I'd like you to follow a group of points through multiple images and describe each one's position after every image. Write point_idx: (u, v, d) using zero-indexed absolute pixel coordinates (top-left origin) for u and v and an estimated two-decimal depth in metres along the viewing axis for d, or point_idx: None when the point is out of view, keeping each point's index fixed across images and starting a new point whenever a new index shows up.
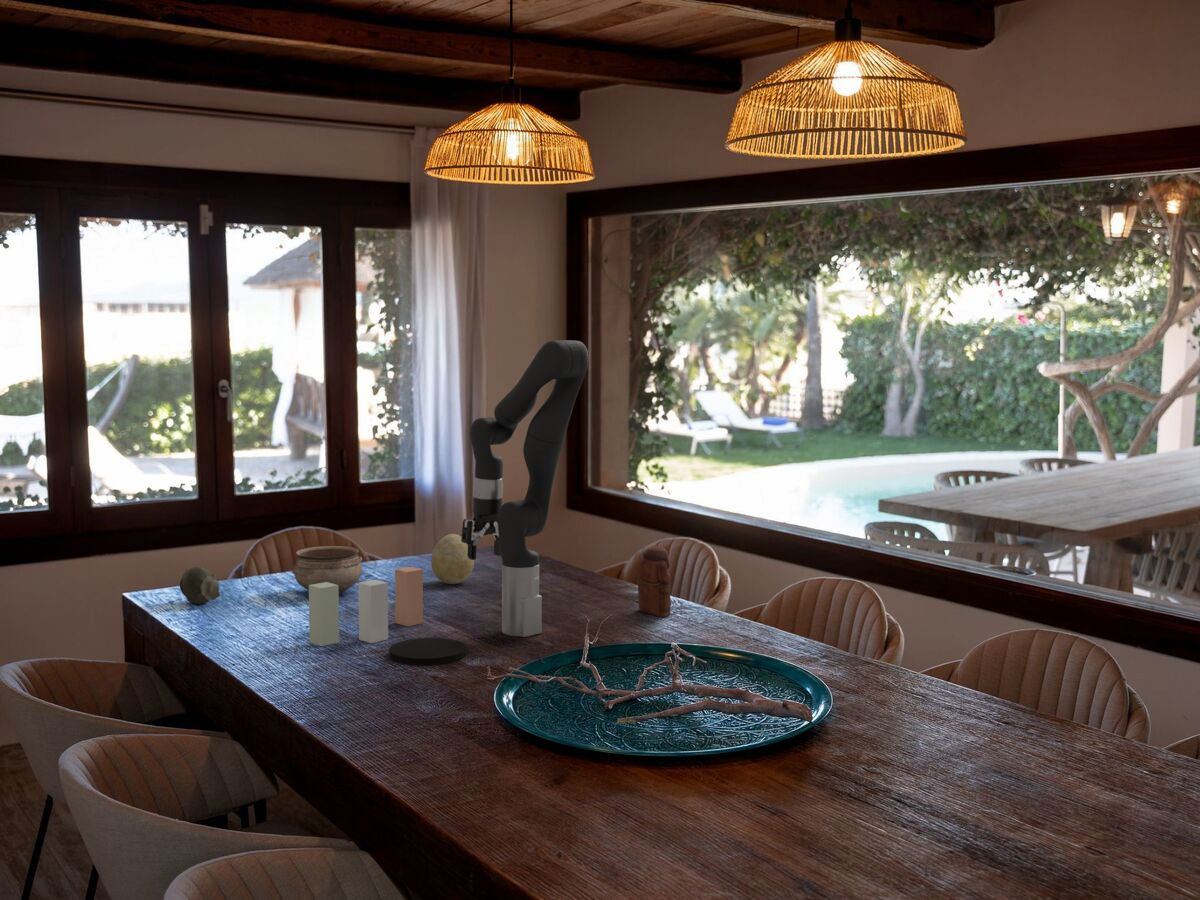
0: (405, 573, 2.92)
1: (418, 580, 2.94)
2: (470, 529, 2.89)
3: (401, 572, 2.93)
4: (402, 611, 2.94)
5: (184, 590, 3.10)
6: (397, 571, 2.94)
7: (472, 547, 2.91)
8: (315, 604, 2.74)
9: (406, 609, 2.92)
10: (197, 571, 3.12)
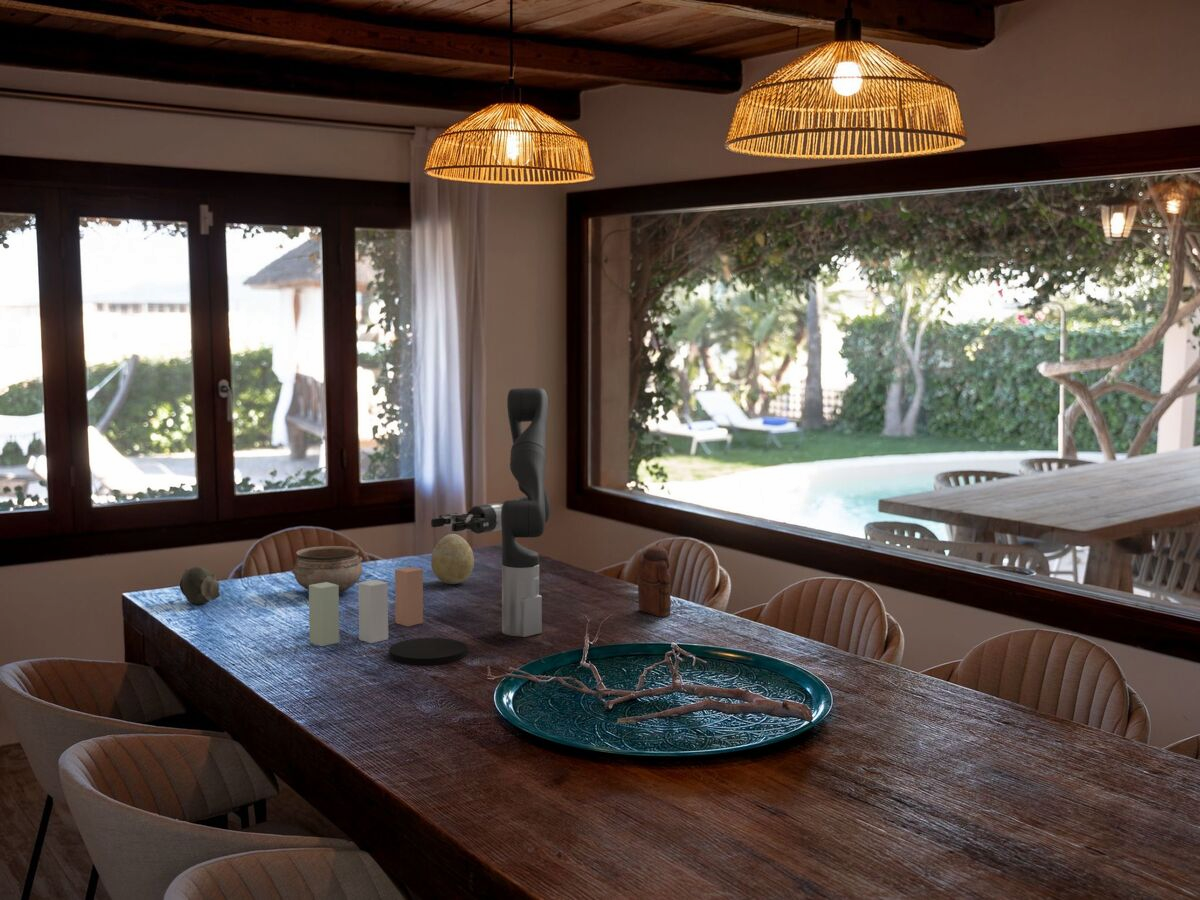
0: (405, 573, 2.92)
1: (418, 580, 2.94)
2: (451, 514, 3.12)
3: (401, 572, 2.93)
4: (402, 611, 2.94)
5: (184, 590, 3.10)
6: (397, 571, 2.94)
7: None
8: (315, 604, 2.74)
9: (406, 609, 2.92)
10: (197, 571, 3.12)
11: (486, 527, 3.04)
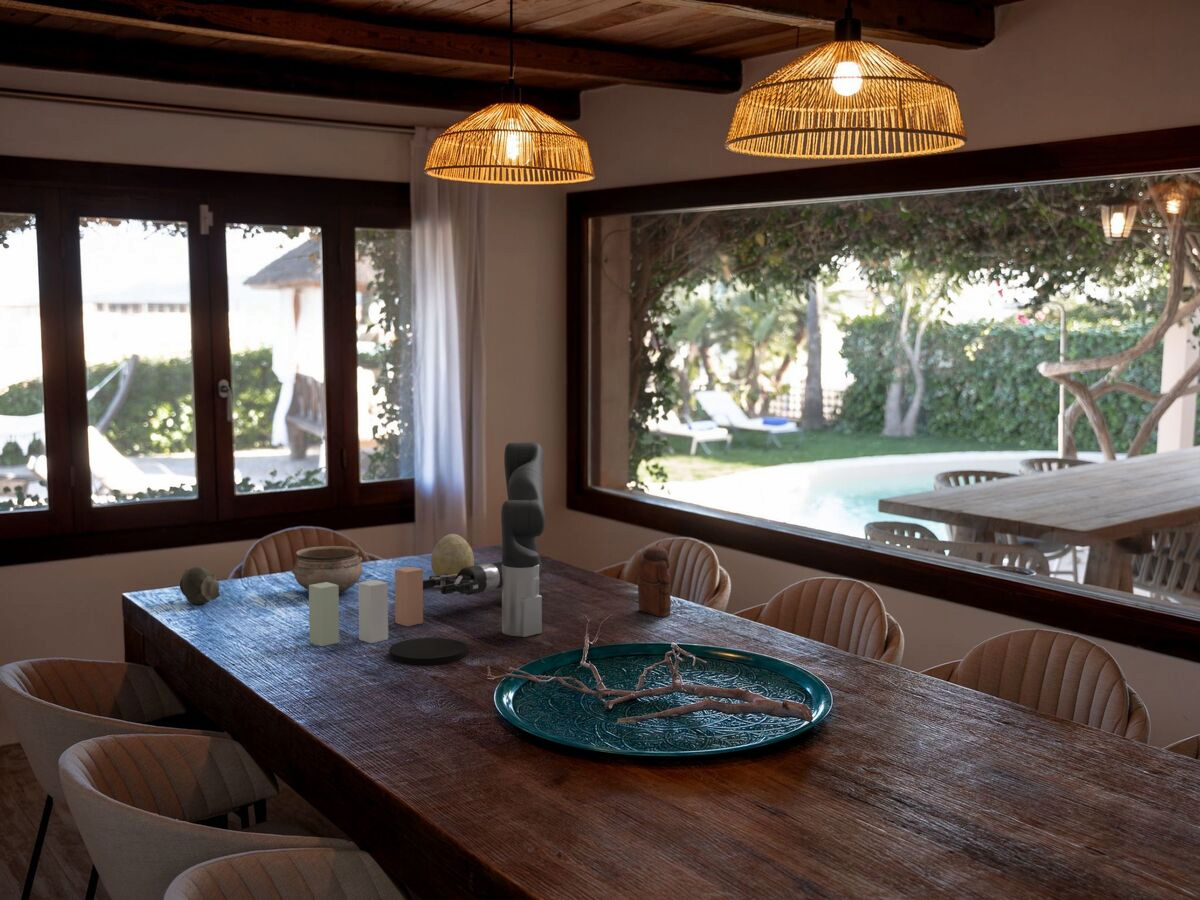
0: (405, 573, 2.92)
1: (418, 580, 2.94)
2: (441, 575, 3.11)
3: (401, 572, 2.93)
4: (402, 611, 2.94)
5: (184, 590, 3.10)
6: (397, 571, 2.94)
7: None
8: (315, 604, 2.74)
9: (406, 609, 2.92)
10: (197, 571, 3.12)
11: (475, 589, 3.03)
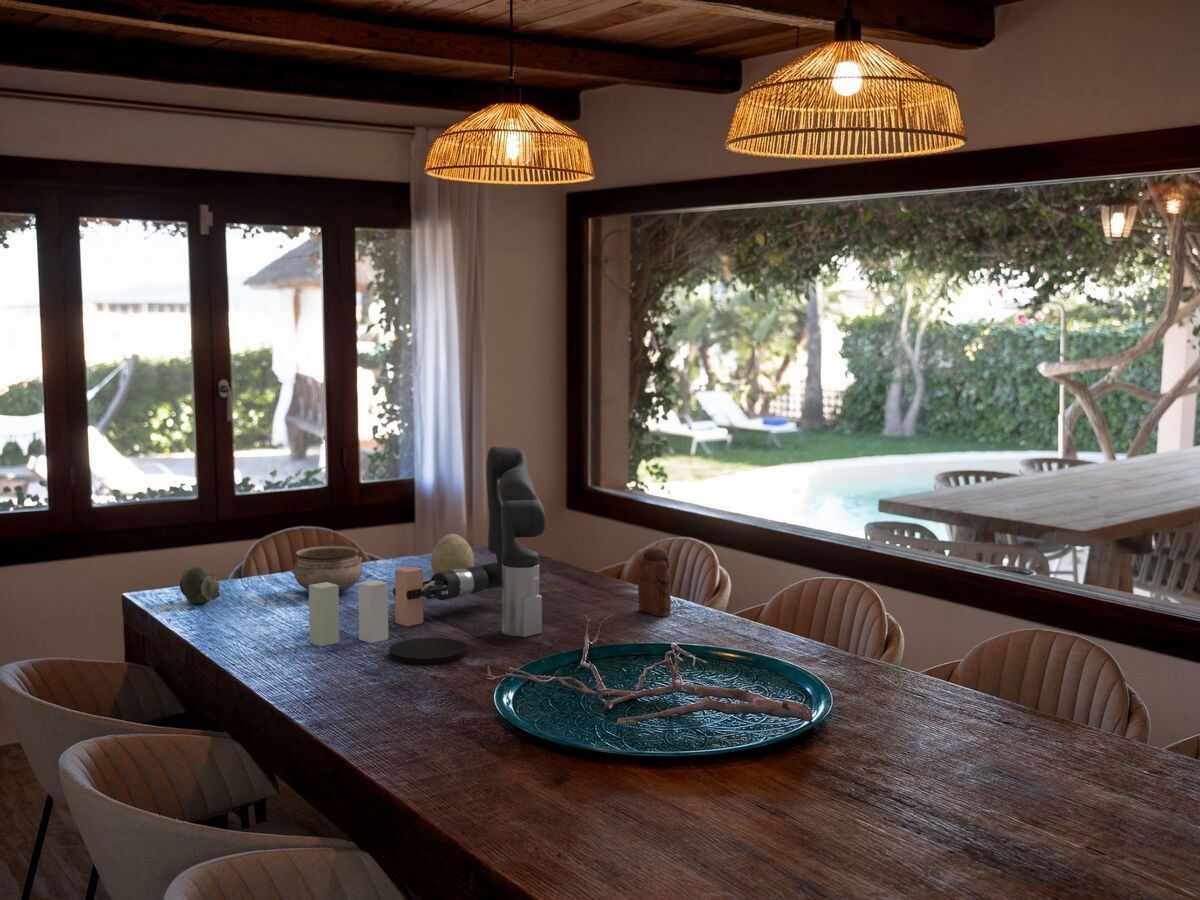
0: (405, 573, 2.92)
1: (418, 580, 2.94)
2: None
3: (401, 572, 2.93)
4: (402, 611, 2.94)
5: (184, 590, 3.10)
6: (397, 571, 2.94)
7: None
8: (315, 604, 2.74)
9: (406, 609, 2.92)
10: (197, 571, 3.12)
11: (444, 595, 2.95)
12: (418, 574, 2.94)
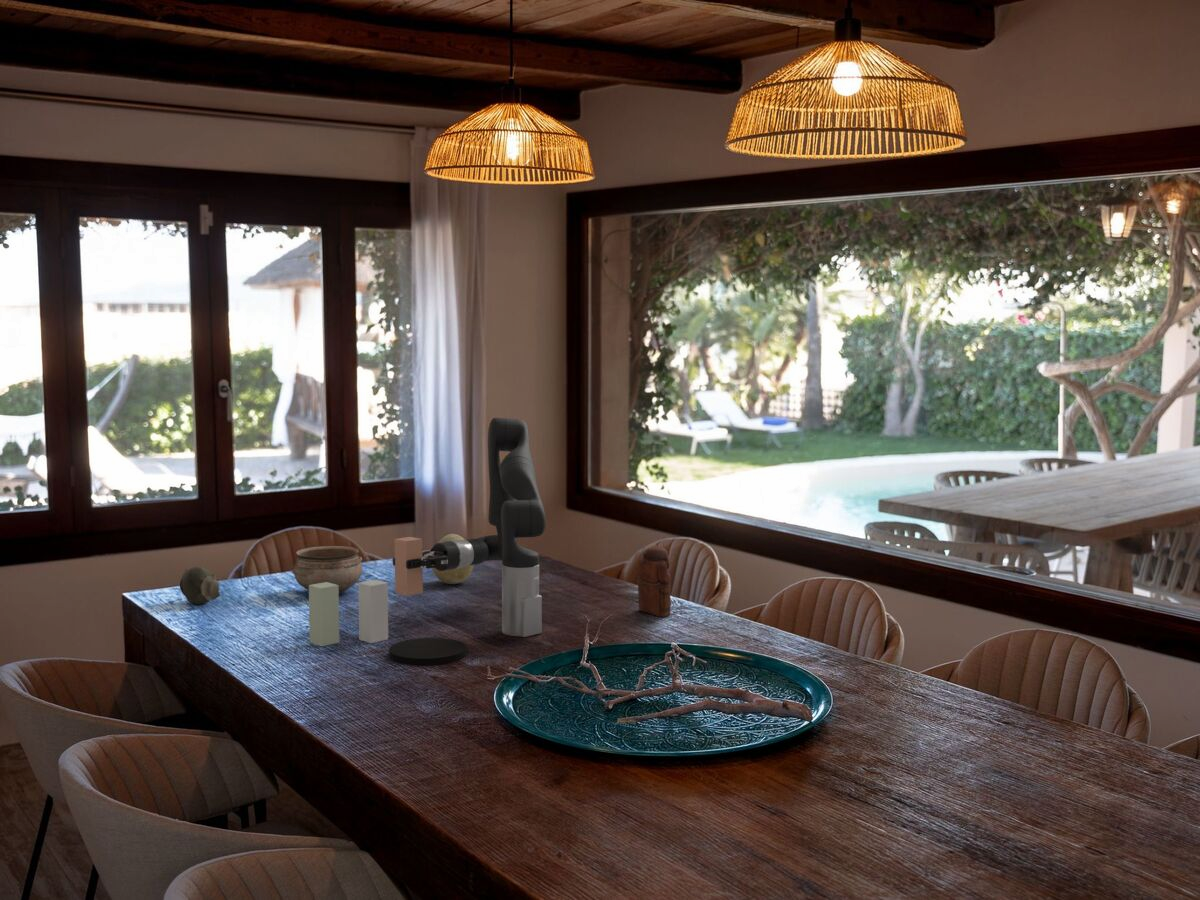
0: (405, 542, 2.91)
1: (418, 550, 2.93)
2: None
3: (401, 541, 2.92)
4: (402, 581, 2.93)
5: (184, 590, 3.10)
6: (397, 541, 2.93)
7: None
8: (315, 604, 2.74)
9: (406, 578, 2.91)
10: (197, 571, 3.12)
11: (444, 565, 2.94)
12: (418, 544, 2.93)
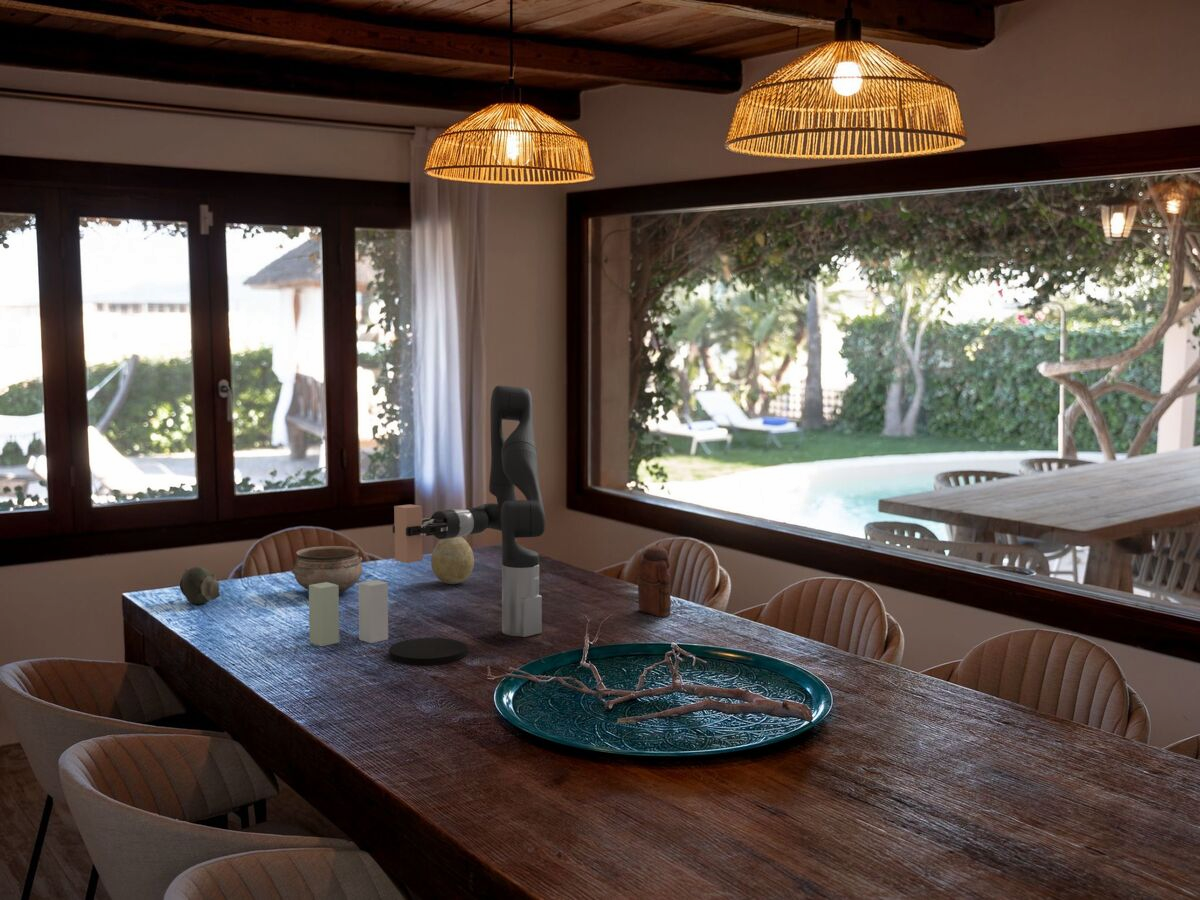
0: (404, 509, 2.90)
1: (418, 517, 2.93)
2: None
3: (400, 508, 2.91)
4: (401, 548, 2.92)
5: (184, 590, 3.10)
6: (396, 508, 2.92)
7: None
8: (315, 604, 2.74)
9: (405, 545, 2.91)
10: (197, 571, 3.12)
11: (444, 532, 2.94)
12: (417, 511, 2.92)
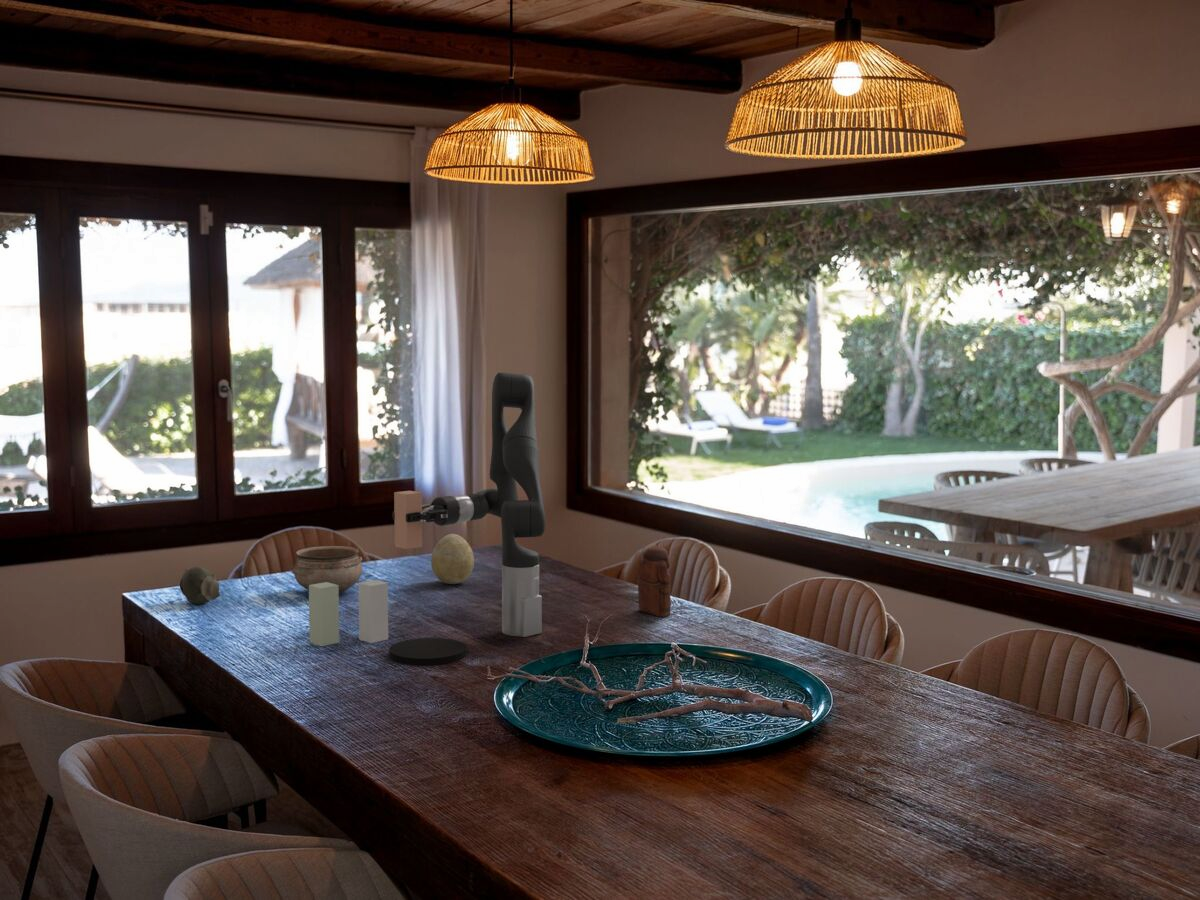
0: (404, 495, 2.90)
1: (418, 503, 2.92)
2: None
3: (400, 495, 2.91)
4: (401, 534, 2.92)
5: (184, 590, 3.10)
6: (396, 494, 2.92)
7: None
8: (315, 604, 2.74)
9: (405, 532, 2.91)
10: (197, 571, 3.12)
11: (444, 519, 2.94)
12: (417, 497, 2.92)
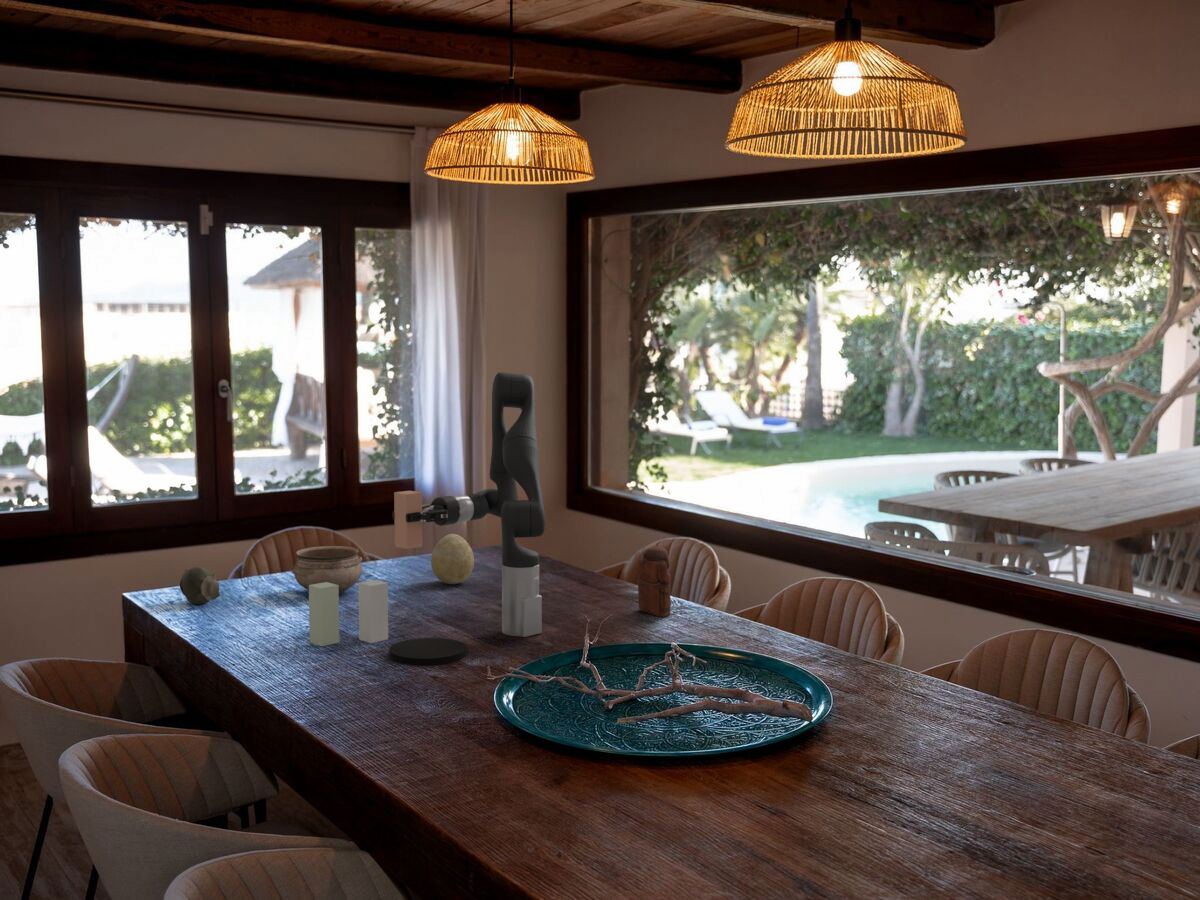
0: (404, 495, 2.90)
1: (418, 503, 2.92)
2: None
3: (400, 495, 2.91)
4: (401, 534, 2.92)
5: (184, 590, 3.10)
6: (396, 494, 2.92)
7: None
8: (315, 604, 2.74)
9: (405, 532, 2.91)
10: (197, 571, 3.12)
11: (444, 519, 2.94)
12: (417, 497, 2.92)
